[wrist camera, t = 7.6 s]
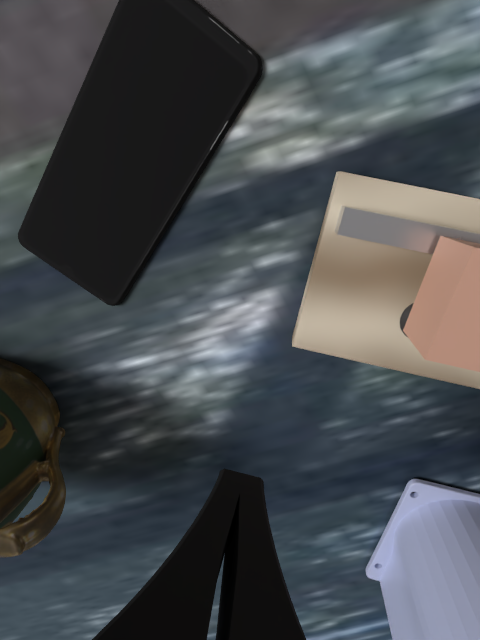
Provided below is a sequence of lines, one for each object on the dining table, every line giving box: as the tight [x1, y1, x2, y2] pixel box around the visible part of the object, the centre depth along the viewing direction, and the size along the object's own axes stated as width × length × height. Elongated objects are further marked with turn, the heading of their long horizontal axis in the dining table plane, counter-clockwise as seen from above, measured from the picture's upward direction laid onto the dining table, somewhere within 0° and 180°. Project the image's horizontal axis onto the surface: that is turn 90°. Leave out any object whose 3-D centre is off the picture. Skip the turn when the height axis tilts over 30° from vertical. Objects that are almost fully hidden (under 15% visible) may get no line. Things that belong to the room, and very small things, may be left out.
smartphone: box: [18, 0, 262, 306], centre depth 18 cm, size 7×1×15 cm
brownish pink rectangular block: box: [403, 236, 480, 372], centre depth 15 cm, size 5×3×4 cm, turn 169°
